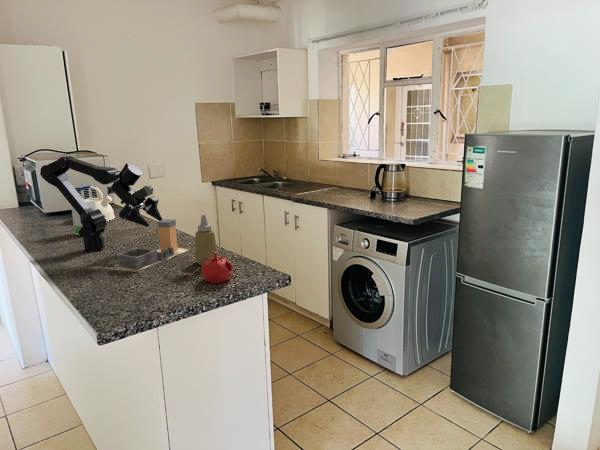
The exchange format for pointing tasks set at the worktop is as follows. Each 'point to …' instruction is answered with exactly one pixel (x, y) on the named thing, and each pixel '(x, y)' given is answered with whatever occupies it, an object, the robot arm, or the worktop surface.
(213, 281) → the pomegranate
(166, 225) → the plug
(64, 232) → the worktop surface
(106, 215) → the kettle
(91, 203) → the skincare box
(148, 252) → the board
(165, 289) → the worktop surface
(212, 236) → the squeeze bottle
